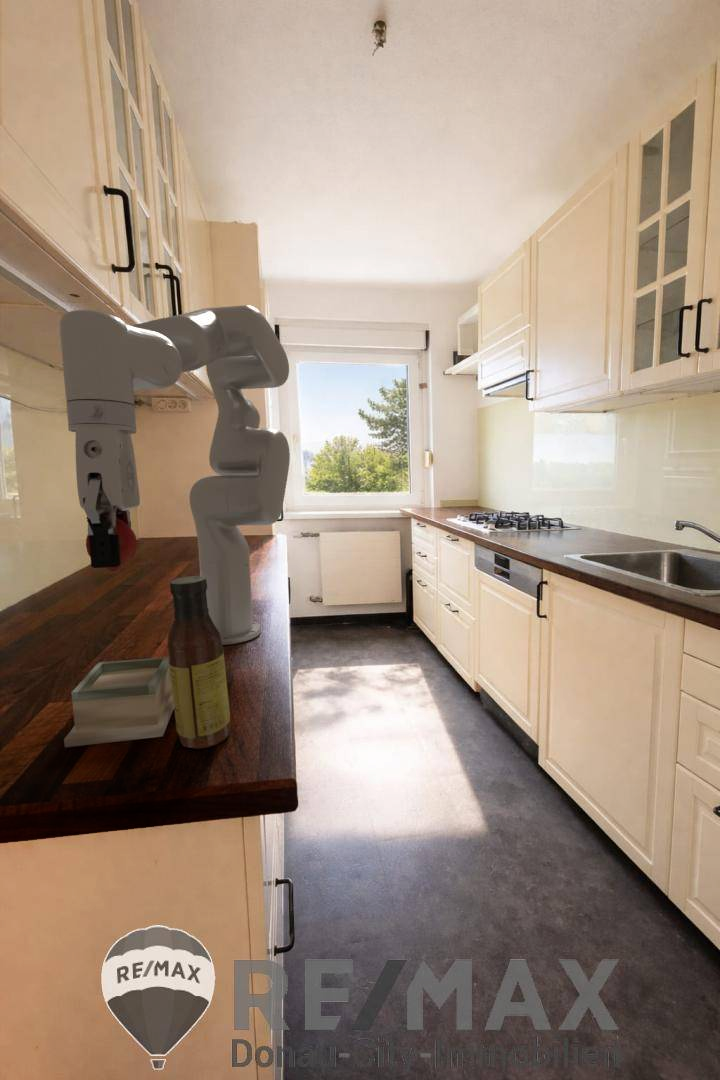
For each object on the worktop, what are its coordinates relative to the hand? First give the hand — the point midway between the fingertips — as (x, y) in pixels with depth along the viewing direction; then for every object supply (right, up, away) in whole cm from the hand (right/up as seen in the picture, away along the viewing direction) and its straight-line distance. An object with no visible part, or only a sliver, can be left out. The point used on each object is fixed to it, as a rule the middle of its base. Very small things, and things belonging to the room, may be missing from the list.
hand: (113, 561), depth 62 cm
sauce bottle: (+13, -22, -3) cm, 25 cm away
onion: (0, -2, 0) cm, 2 cm away
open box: (+1, -21, +2) cm, 21 cm away
